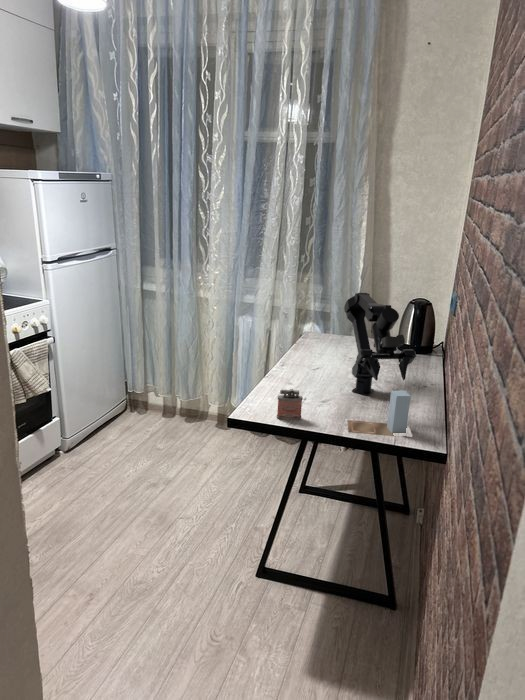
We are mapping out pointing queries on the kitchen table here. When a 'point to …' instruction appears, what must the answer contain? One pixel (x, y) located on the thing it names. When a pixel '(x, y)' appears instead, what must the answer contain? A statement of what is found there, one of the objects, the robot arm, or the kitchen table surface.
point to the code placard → (368, 428)
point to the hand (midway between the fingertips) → (390, 379)
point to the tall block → (398, 411)
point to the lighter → (289, 405)
